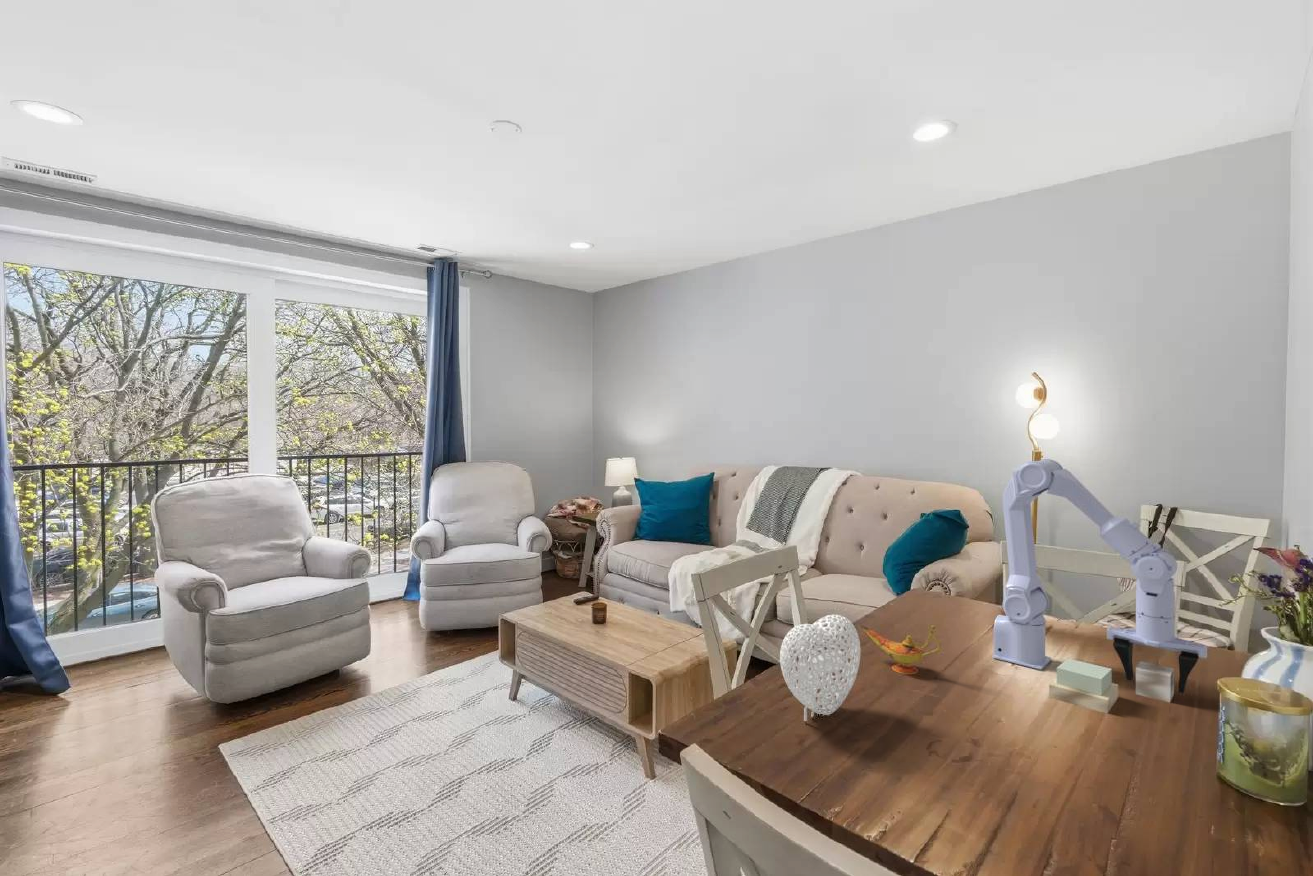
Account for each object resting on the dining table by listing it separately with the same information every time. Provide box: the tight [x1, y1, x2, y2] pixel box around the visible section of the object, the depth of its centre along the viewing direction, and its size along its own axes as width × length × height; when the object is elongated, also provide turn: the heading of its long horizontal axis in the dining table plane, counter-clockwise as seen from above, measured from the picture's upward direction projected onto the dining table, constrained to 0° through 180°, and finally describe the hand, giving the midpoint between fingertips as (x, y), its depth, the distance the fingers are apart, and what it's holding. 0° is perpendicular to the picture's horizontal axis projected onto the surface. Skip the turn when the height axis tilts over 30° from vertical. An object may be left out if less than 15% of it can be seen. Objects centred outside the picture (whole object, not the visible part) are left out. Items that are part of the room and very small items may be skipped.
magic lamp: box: [858, 625, 941, 675], centre depth 128 cm, size 7×18×11 cm, turn 41°
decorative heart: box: [779, 614, 861, 722], centre depth 108 cm, size 18×11×17 cm, turn 128°
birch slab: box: [1048, 676, 1119, 715], centre depth 113 cm, size 9×9×3 cm
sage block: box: [1056, 658, 1113, 696], centre depth 113 cm, size 7×7×3 cm
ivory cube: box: [1135, 660, 1175, 704], centre depth 114 cm, size 5×5×5 cm
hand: (1155, 684), depth 114 cm, fingers open, 7 cm apart
